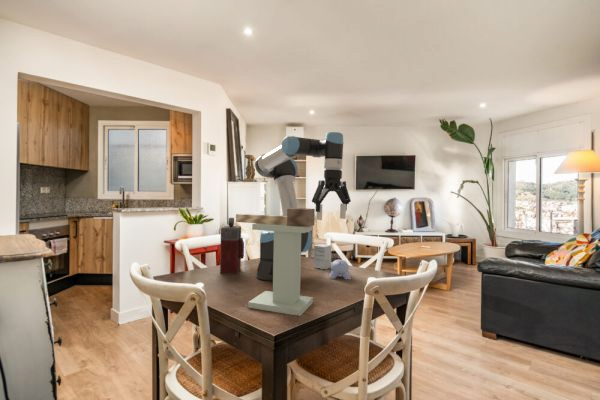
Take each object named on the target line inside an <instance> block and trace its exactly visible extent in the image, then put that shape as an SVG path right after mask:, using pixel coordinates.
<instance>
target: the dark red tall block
mask: <svg viewBox="0 0 600 400" xmlns="http://www.w3.org/2000/svg"><path fill="white" fill-rule="evenodd" d="M227 222H228V225H224V226H222V227H221V228H220V259H219V263H220V265H219V267H220V270H219V273H220V274H226V275H227V274H229V275H231V274H233V275H235V274H237V275H238V274H239V273H240V271H241V260H242V259H244V257H245V255H244V254H245V241H244V240H243V239H244V238H243V237H242V226H241V225H235V218H234V217H228V221H227Z"/></svg>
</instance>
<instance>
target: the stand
mask: <svg viewBox="0 0 600 400" xmlns="http://www.w3.org/2000/svg"><path fill="white" fill-rule="evenodd" d="M251 225H252V228H251V230H255V231H264V230H266V231H274V255H273V280H272V291H269V290H264V291H263V292H261V293H260V294H259V295H257V296H255V297H254V298H252V299H251V300H249V301H248V303H247V305H248V306H247V308H249V309H253V310H261V311H267V312H273V313H280V314H286V315H290V316H291V315H292V316H297V315H298V317H301V316H302V315H303V314H304V313H305V312H306V311H307V309H308V308H310V306H311V305H312V304H313V302H314V297H313V296H304V295H301V264H302V262H301V261H302V260H301V259H302V253H301V233H306V232H309V231H310V232H311V231H313V230H314V225H313V226H310V227H300V226H287V225H277V224H261V223H251Z"/></svg>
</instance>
